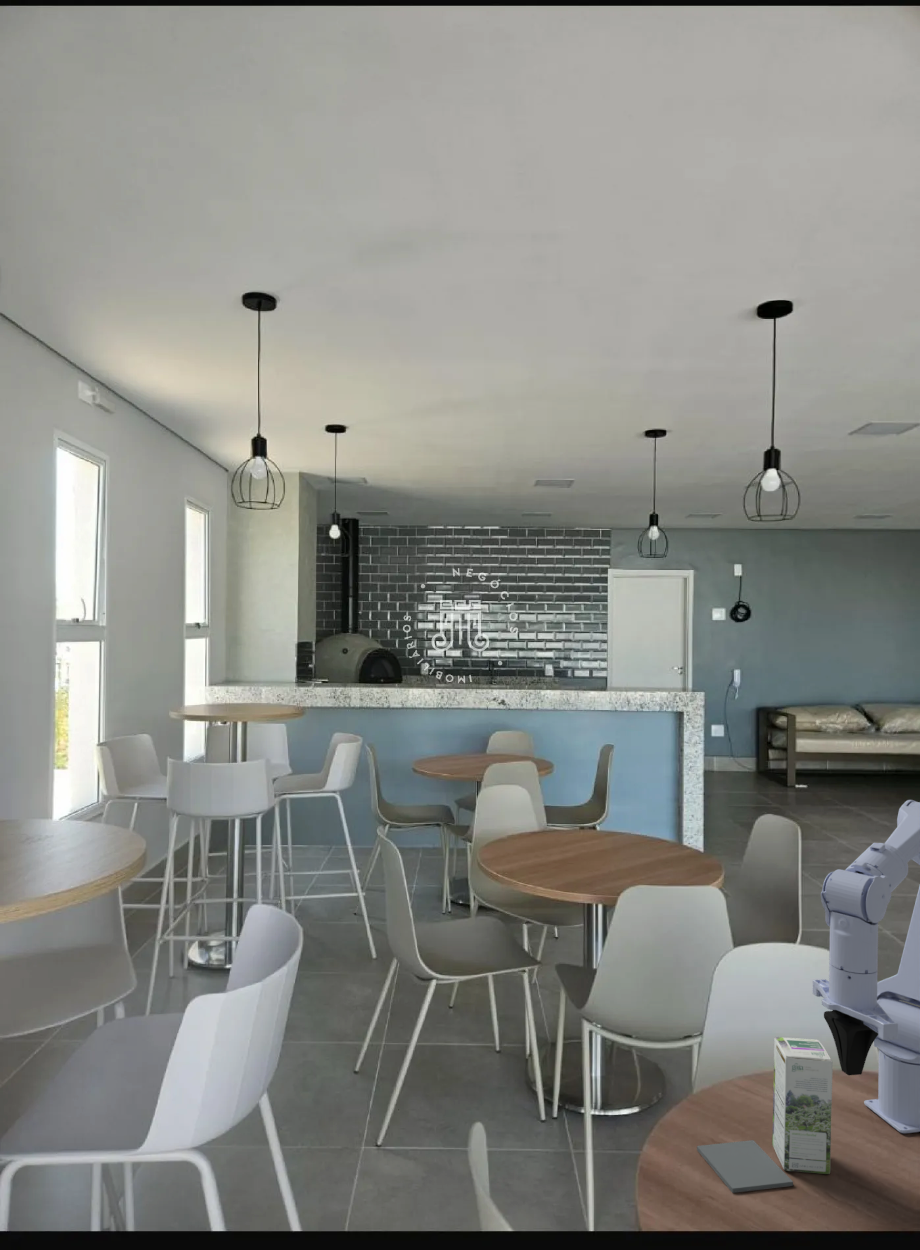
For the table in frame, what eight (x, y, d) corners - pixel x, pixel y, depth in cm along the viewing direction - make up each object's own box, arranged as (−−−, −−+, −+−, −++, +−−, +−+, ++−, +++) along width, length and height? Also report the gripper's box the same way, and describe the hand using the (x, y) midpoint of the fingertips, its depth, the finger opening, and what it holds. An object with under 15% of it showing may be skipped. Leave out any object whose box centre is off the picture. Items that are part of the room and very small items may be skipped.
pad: (753, 1143, 114) (753, 1139, 114) (793, 1185, 105) (793, 1181, 105) (696, 1149, 113) (696, 1145, 113) (732, 1192, 104) (732, 1188, 104)
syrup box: (817, 1149, 113) (818, 1036, 114) (831, 1176, 107) (833, 1057, 108) (771, 1146, 114) (773, 1033, 114) (783, 1173, 108) (785, 1054, 108)
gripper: (793, 948, 119) (791, 1048, 119) (862, 988, 105) (860, 1103, 105) (839, 946, 121) (837, 1045, 120) (913, 986, 107) (912, 1098, 106)
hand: (851, 1072), depth 113 cm, fingers closed
